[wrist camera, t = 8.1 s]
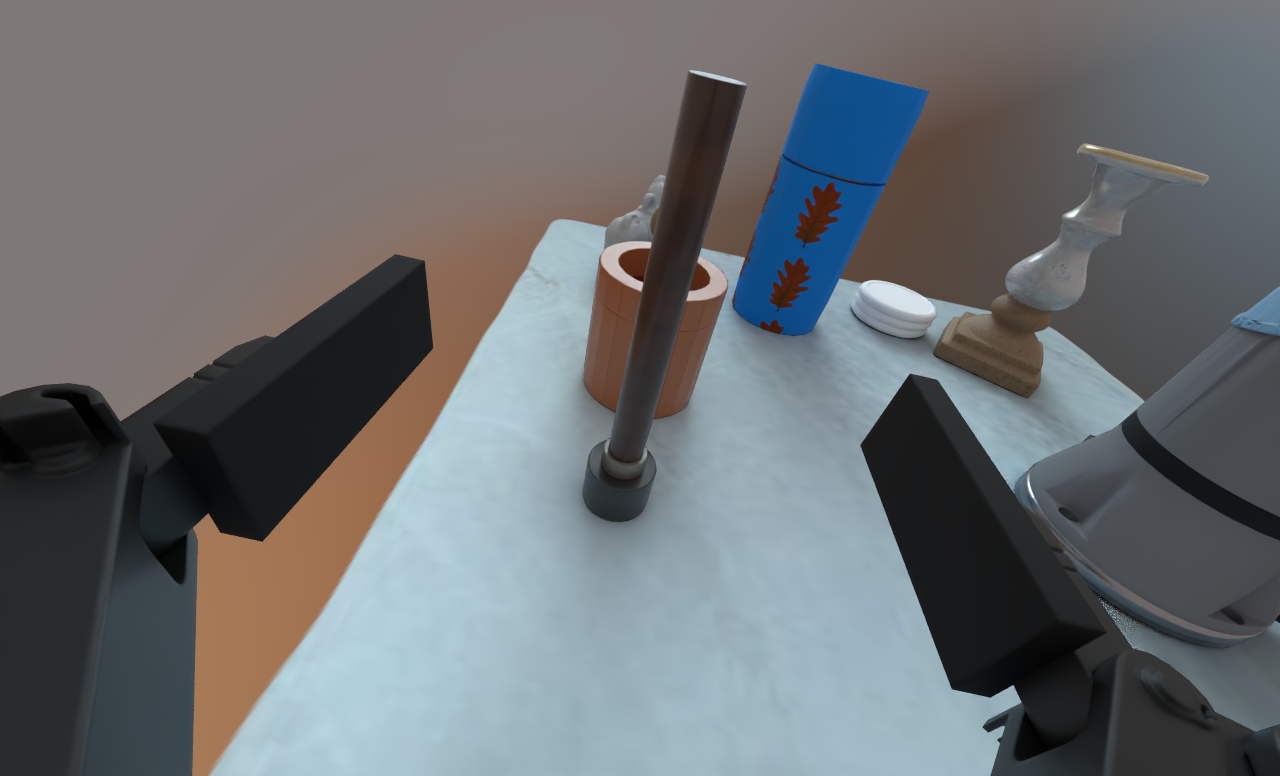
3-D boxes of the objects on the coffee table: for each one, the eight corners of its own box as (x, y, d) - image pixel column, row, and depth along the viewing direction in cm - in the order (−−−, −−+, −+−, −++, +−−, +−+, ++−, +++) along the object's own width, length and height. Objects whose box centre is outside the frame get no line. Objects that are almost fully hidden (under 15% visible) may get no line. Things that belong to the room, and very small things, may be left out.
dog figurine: (677, 260, 65) (697, 181, 59) (628, 286, 56) (646, 196, 50) (645, 246, 67) (662, 168, 61) (593, 269, 58) (606, 180, 51)
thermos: (726, 318, 54) (815, 63, 39) (734, 283, 63) (811, 62, 47) (817, 346, 53) (945, 95, 38) (813, 306, 62) (917, 88, 47)
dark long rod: (659, 500, 32) (799, 96, 17) (611, 534, 29) (727, 86, 14) (617, 460, 34) (710, 70, 19) (569, 487, 31) (633, 57, 16)
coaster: (886, 300, 68) (899, 279, 66) (939, 338, 61) (955, 316, 59) (834, 301, 65) (846, 278, 62) (885, 341, 58) (900, 317, 55)
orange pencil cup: (712, 394, 42) (752, 285, 36) (634, 435, 36) (666, 313, 30) (640, 340, 47) (663, 235, 40) (561, 368, 41) (573, 250, 34)
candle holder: (945, 327, 65) (1075, 140, 50) (1031, 364, 61) (1202, 172, 46) (931, 354, 57) (1080, 143, 43) (1029, 399, 53) (1232, 182, 38)
